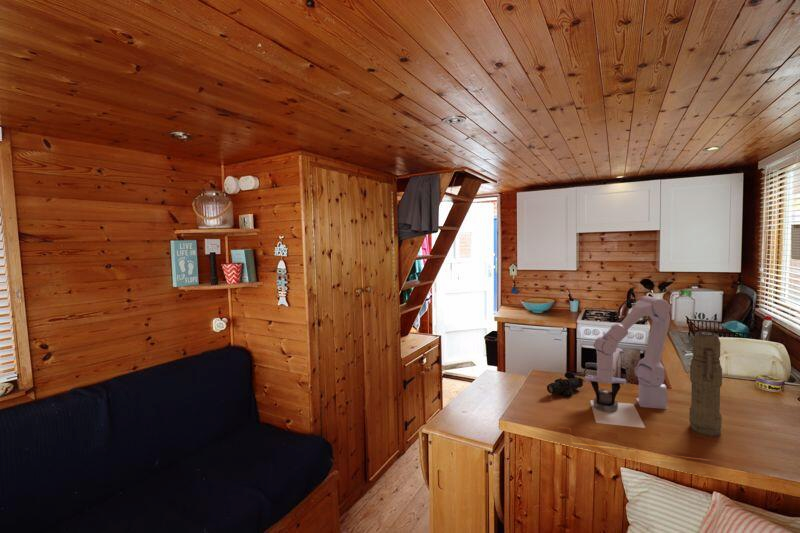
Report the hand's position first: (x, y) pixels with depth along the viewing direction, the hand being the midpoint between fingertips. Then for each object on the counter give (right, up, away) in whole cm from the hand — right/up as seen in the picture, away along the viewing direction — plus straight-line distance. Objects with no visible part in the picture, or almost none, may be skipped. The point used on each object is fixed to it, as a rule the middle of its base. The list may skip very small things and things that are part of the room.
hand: (605, 400), depth 157 cm
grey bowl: (0, -3, 0) cm, 3 cm away
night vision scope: (-9, -3, +16) cm, 19 cm away
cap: (0, -1, 0) cm, 1 cm away
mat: (+2, -4, -4) cm, 6 cm away
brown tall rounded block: (+25, -4, -19) cm, 32 cm away
